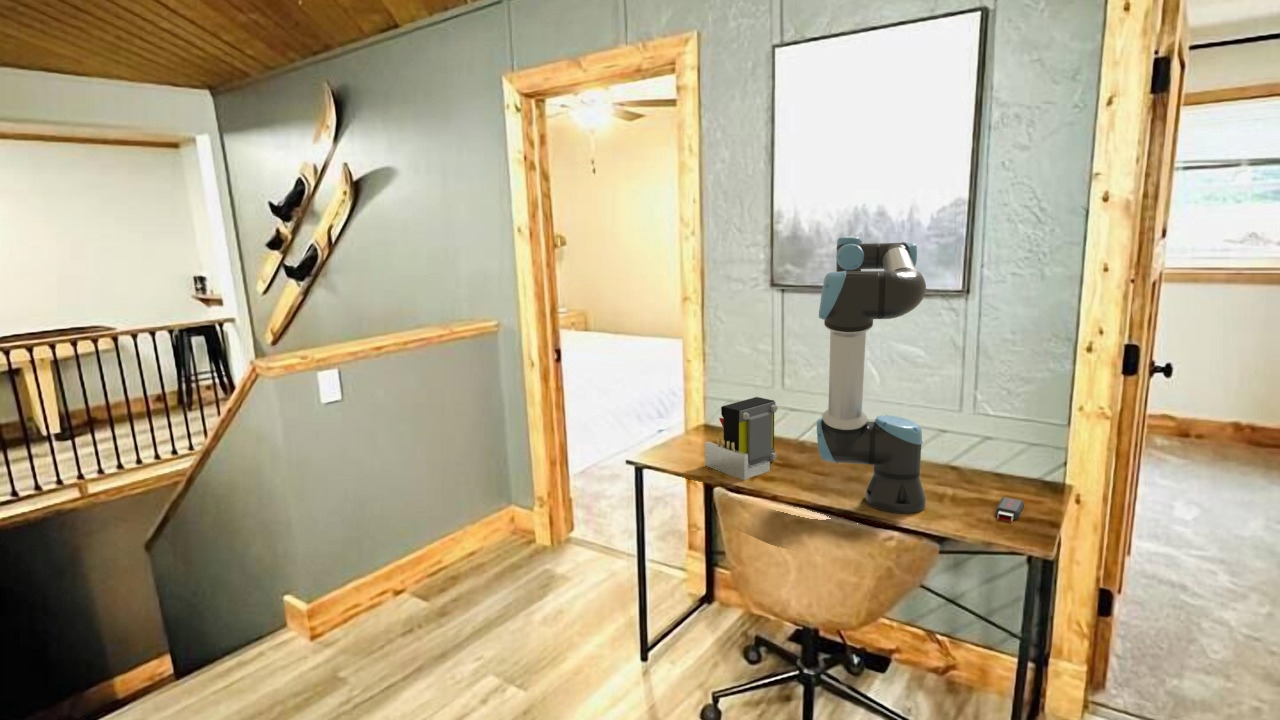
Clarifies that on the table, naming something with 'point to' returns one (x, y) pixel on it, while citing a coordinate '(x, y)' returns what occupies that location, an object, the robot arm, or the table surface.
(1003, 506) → the usb drive
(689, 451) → the table surface
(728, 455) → the mounting bracket
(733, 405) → the electrical component
